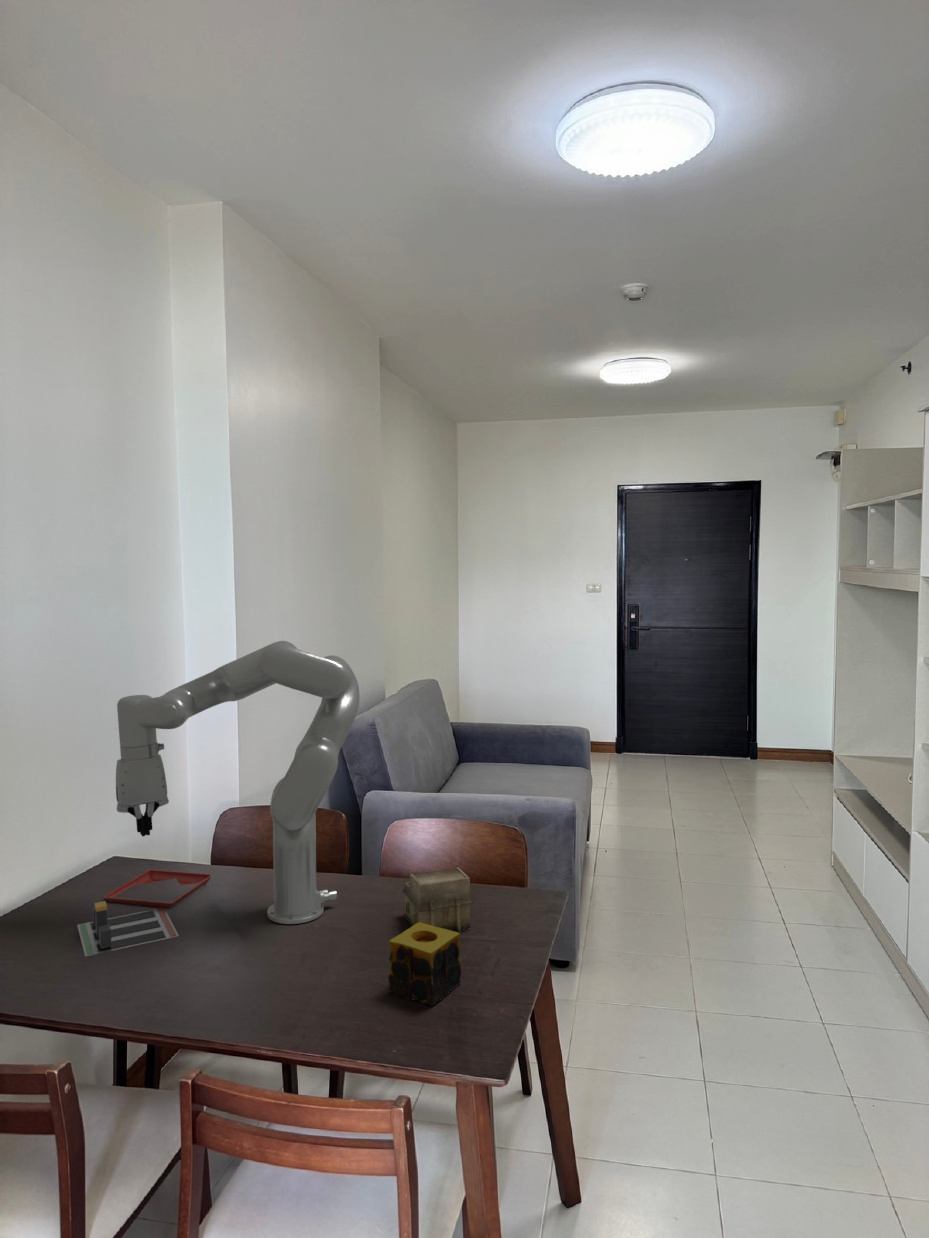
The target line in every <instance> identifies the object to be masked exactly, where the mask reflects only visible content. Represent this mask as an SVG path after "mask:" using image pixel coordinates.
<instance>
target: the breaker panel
mask: <svg viewBox="0 0 929 1238" xmlns="http://www.w3.org/2000/svg"><path fill="white" fill-rule="evenodd" d="M108 924H109V925H110V928H111V946H112V947H107V948H103V949H101V948H100V944H99V937H97V935H96V928H95V927H94V924H93V921H89V922H85V923H84V922H83V923H79V924H77V926H76V927H77V930H78V934H79V937H80V942H81V946H82V950H83V953H84V957H90V956H93V955H98V954H104V953H109V952H114V951H117V950H122V949H127V948H130V947H131V948H132V947H135V946H139V945H140V946H141V945H144V944H149V943H153V942H159V941H163V940H169V939H172V938H176V937H179V936H180V935H179V934H178V931H177V929H176V928H175V926H174V924H173V921H172V920H171V918H170V916H169V914H168V913H167V910H166V909H165V907H160V908H154V909H150V910H146V911H145V910H144V911H140V912H134V913H130V914H126V915H125V914H124V915H119V916H115V917H108V918H107V925H108Z"/></svg>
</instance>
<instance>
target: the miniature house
mask: <svg viewBox="0 0 929 1238" xmlns="http://www.w3.org/2000/svg"><path fill="white" fill-rule="evenodd" d="M470 882H471V880H470V877H469V876H468V875H467V874H466V873H465V872H464V871H463V870H462V869H461V868H460V867H455V868H452V869H445V870H440V871H438V870H437V871H433V872H431V871H430V872H424V873H419V874H414V873H410V874H409V881H408V882H406V881H405V882H404V888H403V889H402V892H403V894H404V905H405V906H404V910H405V911H404V912H405V913H404V918H405V917H406V918H405V919H406V921H407V920H408V921H409V922H408V921H407V922H408V923H410V924H411V925H410V924H409V925H410V927H412V926H413V925H415V924H416V923H419V922H420V923H424V924H428V925H432V926H435V927H439V928H443V929H447V930H451V931H456V932H458V933H460V934H461V933H462V934H463V931H461V930H463V929H468V928H472V927H471V904H473V903H474V902H473V901H472V900H471V896H470V895H471V890H470V889H471V885H470V884H471V883H470ZM462 934H461V935H462Z"/></svg>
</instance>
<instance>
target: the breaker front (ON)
mask: <svg viewBox="0 0 929 1238" xmlns="http://www.w3.org/2000/svg"><path fill="white" fill-rule="evenodd" d="M99 944H100V948H101V949H103V948H107V947H112V946H111V928H110V925H109V924H108V925H103V926H99Z"/></svg>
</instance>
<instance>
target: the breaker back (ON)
mask: <svg viewBox="0 0 929 1238" xmlns="http://www.w3.org/2000/svg"><path fill="white" fill-rule="evenodd" d="M91 909H92V910H91V914H92V915H91V916H92V922H93V924H94V927H95V905H92V906H91Z"/></svg>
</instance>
